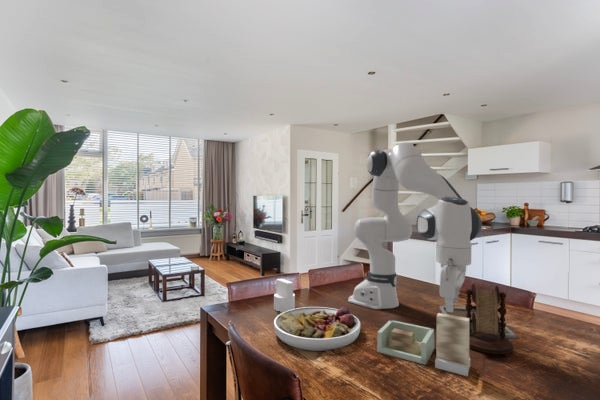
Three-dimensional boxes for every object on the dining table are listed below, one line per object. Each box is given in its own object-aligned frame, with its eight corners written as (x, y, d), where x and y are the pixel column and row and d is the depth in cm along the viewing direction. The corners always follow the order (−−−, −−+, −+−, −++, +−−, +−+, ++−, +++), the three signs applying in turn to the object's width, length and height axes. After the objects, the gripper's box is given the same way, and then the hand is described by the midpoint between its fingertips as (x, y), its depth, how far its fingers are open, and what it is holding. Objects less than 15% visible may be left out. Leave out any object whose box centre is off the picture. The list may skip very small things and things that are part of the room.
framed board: (456, 330, 114) (438, 303, 144) (456, 335, 114) (438, 307, 144) (517, 335, 110) (485, 307, 140) (517, 340, 110) (485, 310, 140)
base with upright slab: (269, 308, 141) (270, 280, 141) (286, 304, 146) (287, 277, 146) (281, 313, 134) (281, 284, 134) (299, 309, 139) (299, 281, 139)
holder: (435, 371, 89) (435, 359, 89) (439, 361, 94) (439, 350, 94) (467, 380, 85) (467, 367, 85) (470, 369, 90) (470, 358, 90)
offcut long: (389, 348, 100) (389, 339, 100) (392, 345, 103) (392, 335, 103) (419, 356, 96) (419, 346, 96) (422, 352, 98) (422, 342, 98)
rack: (377, 355, 99) (377, 332, 98) (389, 340, 109) (389, 319, 109) (425, 368, 91) (425, 343, 91) (434, 351, 101) (434, 329, 101)
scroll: (462, 354, 99) (462, 288, 99) (457, 335, 113) (457, 277, 113) (518, 362, 94) (519, 293, 94) (506, 341, 108) (506, 281, 108)
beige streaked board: (436, 365, 91) (436, 315, 91) (437, 361, 93) (438, 312, 93) (468, 373, 87) (468, 321, 87) (469, 369, 89) (469, 318, 89)
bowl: (304, 365, 93) (304, 337, 93) (259, 329, 118) (259, 307, 118) (379, 341, 109) (379, 317, 109) (325, 314, 134) (325, 295, 134)
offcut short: (391, 339, 100) (391, 331, 100) (394, 336, 103) (394, 328, 103) (411, 344, 97) (411, 335, 97) (413, 340, 99) (413, 332, 99)
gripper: (461, 264, 79) (460, 320, 80) (469, 251, 96) (469, 298, 97) (433, 261, 83) (432, 315, 83) (446, 249, 100) (446, 294, 100)
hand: (452, 306), depth 90 cm, fingers open, 8 cm apart
